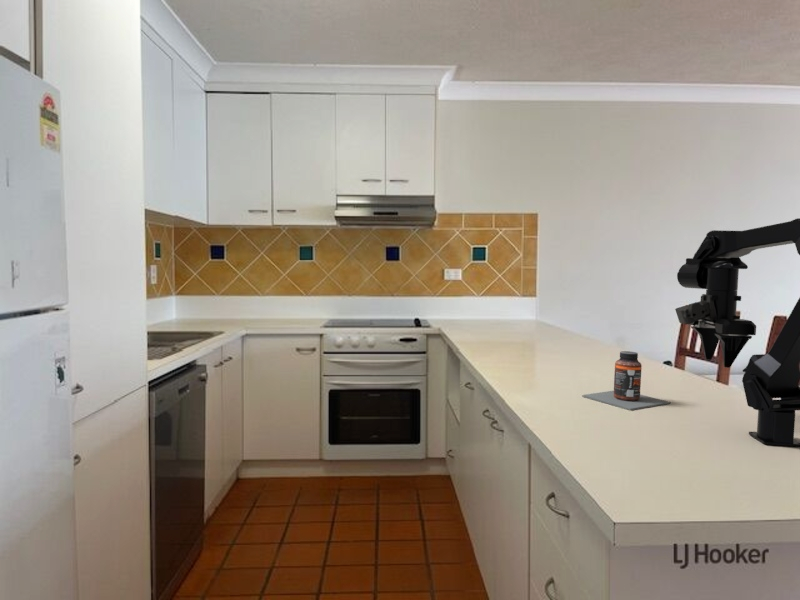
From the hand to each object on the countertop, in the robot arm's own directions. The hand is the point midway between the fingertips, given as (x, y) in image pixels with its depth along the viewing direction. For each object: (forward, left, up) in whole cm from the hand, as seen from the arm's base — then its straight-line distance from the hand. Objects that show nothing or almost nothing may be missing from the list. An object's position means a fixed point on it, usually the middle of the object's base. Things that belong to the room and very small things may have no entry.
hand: (717, 363), depth 117 cm
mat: (+13, +15, -12) cm, 23 cm away
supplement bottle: (+13, +15, -12) cm, 23 cm away
